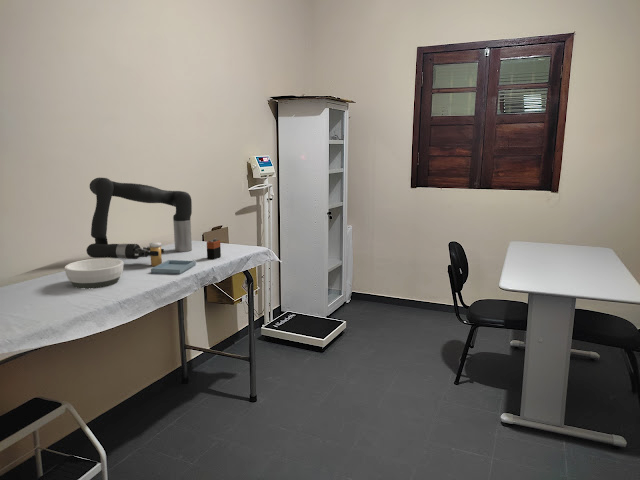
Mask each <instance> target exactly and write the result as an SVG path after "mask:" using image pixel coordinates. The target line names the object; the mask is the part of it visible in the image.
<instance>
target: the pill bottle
mask: <svg viewBox="0 0 640 480" xmlns="http://www.w3.org/2000/svg"><path fill="white" fill-rule="evenodd" d="M148 246H149V247H150V252H151V251H158V252H159V255H158V256H150V265H151V267H155V266H157V265H159V264H161V263H163V261H162V254H161V249H162V242H160V241H153V242H150V243H149V245H148Z"/></svg>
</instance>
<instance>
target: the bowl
mask: <svg viewBox="0 0 640 480" xmlns="http://www.w3.org/2000/svg"><path fill="white" fill-rule="evenodd" d="M123 270H124V261H123V260H122V259H120V258H110V257H105V258H90V259H84V260H77V261H73V262H70V263H67V264H66V265H65V266H64V272H65V275H66V277H67V279H68V281H69V282H70V283H71V284H72V286H73V287H74V288H76V287H77V289H81V288H85V289H84V290H90V289H91V288H93V289H101V288H105V287H106V288H107V287H111V286H113V285H115V284H117V283H118V282H119V280H120V278H121V276H122V273H123ZM89 288H90V289H89ZM91 290H92V289H91Z"/></svg>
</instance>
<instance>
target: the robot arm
mask: <svg viewBox="0 0 640 480" xmlns="http://www.w3.org/2000/svg"><path fill="white" fill-rule="evenodd" d="M89 189H90V191H91V193H92V194H94V195H96V196H95V197H96V204H95V210H94V213H93V215H92V219H91V227H90V228H91V229H90V236H91V237H92V238H93V239H94V243H91V244H89V245H88V246H87V247H86V254H87V255H88V256H89V257H91V258H92V259H100V258H111V259H121V260H122V259H123V260H139V258H148V257H151V256H158V255H159V252H158V251H151V252H150V246H147V247H145V246H142V247H141V246H140V245H139V244H138V243H108V237H107V232H108V231H107V230H108V222H109V221H108V218H109V213H110V212H109V211H110V206H111V201H112V198H113V197H118V198H121V199H125V200H129V201H134V202H138V203H144V204H164V205H168V206H172V207H175V213H174V215H173V217H172V219H173V220H172V221H173V236H174V237H173V238H174V251H175V252H181V253H184V252H191V251H192V250H193V248H192V247H193V243H192V241H193V240H192V223H191V222H192V221H191V219H192V218H191V217H192V213H193V212H192V211H193V210H192V209H193V206H192V204H193V203H192V197H191V195H190V194H189V193H188V192H187V191H181V190H167V189H165V190H164V189H161V188H159V187H155V186H152V185H148V184H143V183H142V184H141V183H132V182H131V183H130V182H117V181H112V180H110V179H109V178H107V177H96V178H94V179H92V180H91V181H90V182H89ZM164 253H165V250H164V248H161V255H163V254H164Z"/></svg>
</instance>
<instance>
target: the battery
mask: <svg viewBox="0 0 640 480" xmlns="http://www.w3.org/2000/svg"><path fill="white" fill-rule="evenodd" d="M221 247H222V246H221V240H220V239H218V238H215V237H214V238H213V239H210V240H208V241H206V259H207V260H216V259H219V258H222V253H221Z"/></svg>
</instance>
